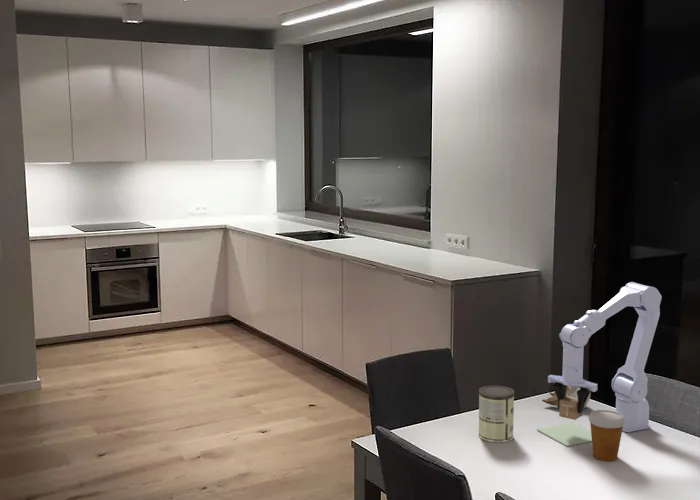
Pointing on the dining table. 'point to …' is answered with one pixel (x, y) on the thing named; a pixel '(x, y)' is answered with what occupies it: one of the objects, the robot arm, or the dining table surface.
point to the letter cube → (569, 408)
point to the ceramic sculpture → (569, 392)
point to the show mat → (568, 434)
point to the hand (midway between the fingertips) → (571, 410)
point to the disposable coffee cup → (606, 433)
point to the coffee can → (496, 413)
